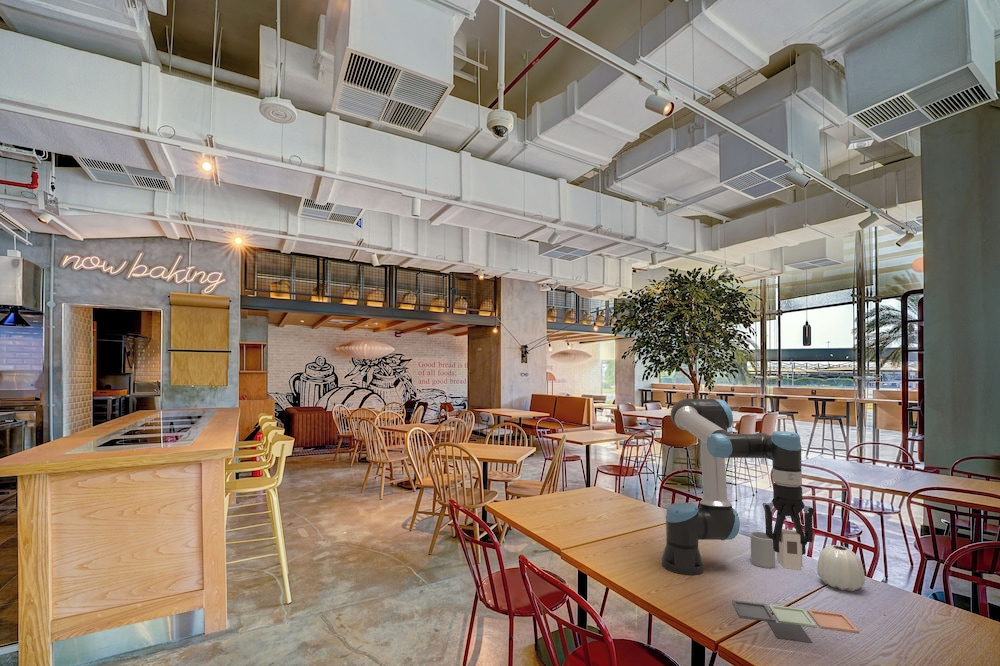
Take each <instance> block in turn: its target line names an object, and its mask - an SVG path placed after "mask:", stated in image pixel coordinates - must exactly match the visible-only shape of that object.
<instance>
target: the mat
mask: <svg viewBox="0 0 1000 666" xmlns="http://www.w3.org/2000/svg"><path fill="white" fill-rule="evenodd" d="M766 622H767V624H768V626H769V627H770V629H771V631H772V632H773V634H774V636H775V637H776V639H780V640H786V641H793V642H801V643H809V644H813V641H812V640H811V637H810V636H809V635H808V634H807V632H806V631H805V630H804V628H803V626H800V625H793V624H785V623H779V622H777V621H776V622H770V621H766Z"/></svg>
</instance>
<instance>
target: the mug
mask: <svg viewBox="0 0 1000 666" xmlns="http://www.w3.org/2000/svg"><path fill="white" fill-rule="evenodd" d="M750 562H751V564H753V565H754V566H756V567H760V568H764V569H773V568H775V567H776V552H775V551H774V549H773V539H770V538H769V537H768V536H767V535H766V532H761V531H752V532H751V533H750Z"/></svg>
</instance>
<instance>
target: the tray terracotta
mask: <svg viewBox="0 0 1000 666" xmlns="http://www.w3.org/2000/svg"><path fill="white" fill-rule="evenodd" d="M806 612H807V614H808V615H809V616H810V618H811V619H812V620H813V621H814V623H815V624H816V625H817V626H818V627H819V628H820V629H823V630H832V631H839V632H847V633H854V634H855V633H856V634H860V630H859V629H858V628H857V627H856V626H855V625H854V624H853V623H852V622H851V620H849V619H848V617H847V616H846V615H845V614H844V613H838V612H832V611H822V610H815V609H807V611H806Z"/></svg>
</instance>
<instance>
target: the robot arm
mask: <svg viewBox="0 0 1000 666" xmlns="http://www.w3.org/2000/svg"><path fill="white" fill-rule="evenodd" d="M670 419H671V422H672V423H673V424H674V425H675V426H676V427H677V428H679V429H680V430H683V431H687V432H689V433H690V434H692V435H693V436H694V437H696V438H697V439H699V440H700V456H701V458H700V460H701V470H702V471H701V473H702V474H701V476H702V478H701V479H702V493H703V494H702V495H703V497H702V499H701V500H700V501H699V507H698V505H697V504H696V503H692V502H683V501H681V502H674V503H672V504H670V505H668V507H667V508H666V513H665V520H666V521H665V523H666V524H665V527H666V528H665V531H666V532H665V533H666V535H665V536H666V537H665V538H666V539H665V541H666V543H665V547H664V549H663V553H662V556H661V565H662V567H663V568H664V569H667V570H668V571H670V572H673V573H675V574H680V575H686V576H687V575H688V576H689V575H692V576H694V575H699V574H701V573H704V562H703V559H702V555H701V552H700V549H699V541H701V540H706V541H708V540H709V541H714V540H715V541H726V540H728V541H729V540H734V539H735V538H736V537H737V536H738V534H739V533H740V528H741V526H740V525H741V522H740V521H741V520H740V516H739V513H738V511H737V510H736V509H734V508H733V504H732V503H731V502H730V501H729V500H728V490H727V475H726V473H727V472H726V459H727V458H728V459H739V458H740V459H768V460H771V461H772V481H773V482H774V483H773V484H772V489H773V490H772V491H773V492H772V493H773V494H772V495H773V498H772V500H771V502H768V503H766V502H763V503H762V507H763V509H764V516H765V517H764V519H765V533H766V535H767V536H768V537H769V538H770V539H773V549H774V551H775V553H776V562H777V563H778V564H779V565H780V566H781V565H783V546H782V542H781V541H780V536H781V531H782V529H783V527H784V526H783V525H784V522H785V520H786V517H791V518H792V523H793V525H794V530H795V531H796V532H797V533H798V534H800V546H801V568H803V567H804V566H803V564H804V563H803V555H805V556H806V549H807V548H806V546H807V544H808V543H813V542H814V541H813V540H814V539H813V538H814V537H813V535H814V534H813V531H814V530H813V515H814V513H815V508H813V507H811V506H810V505H806V504H805V503H804V501H803V487H802V486H801V485H802V484H803V476H802V475H803V474H802V445H801V444H802V442H801V436H800V434H798V433H796V432H793V431H785V430H784V431H779V430H775V431H772V432H771V434H767V433H765V432H764V433H763V432H754V433H751V434H750V433H731V432H729V431H728V429H729V428H731V427H732V426H733V422H734V415H733V411H732V409H731V407H730V405H729V404H728V403H727V401H725V400H723V399H719V398H683V399H681V400H679V401H677V402H676V403H674V405H672V408H671V409H670ZM774 508H775V510H776V511H777V512H776V519H775V523H774V527H773V513H772V511H773V510H774ZM802 510H803V512H804V516H803V517H804V518H803V519H804V520H803V521H804V530H803V526H802V522H801V516H800V513H801V511H802Z"/></svg>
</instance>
